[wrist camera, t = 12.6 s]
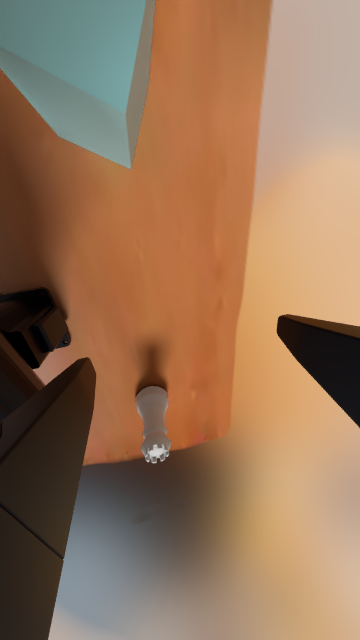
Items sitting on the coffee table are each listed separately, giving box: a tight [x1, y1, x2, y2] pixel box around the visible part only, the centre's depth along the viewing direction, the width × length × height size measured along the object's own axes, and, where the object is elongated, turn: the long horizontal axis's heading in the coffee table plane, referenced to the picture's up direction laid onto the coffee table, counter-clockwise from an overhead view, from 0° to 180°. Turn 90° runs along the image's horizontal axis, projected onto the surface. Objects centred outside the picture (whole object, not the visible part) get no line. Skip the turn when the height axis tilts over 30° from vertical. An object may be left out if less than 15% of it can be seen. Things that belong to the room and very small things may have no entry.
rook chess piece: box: [135, 386, 171, 463], centre depth 24 cm, size 4×4×8 cm
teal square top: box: [0, 0, 155, 169], centre depth 11 cm, size 5×5×9 cm
